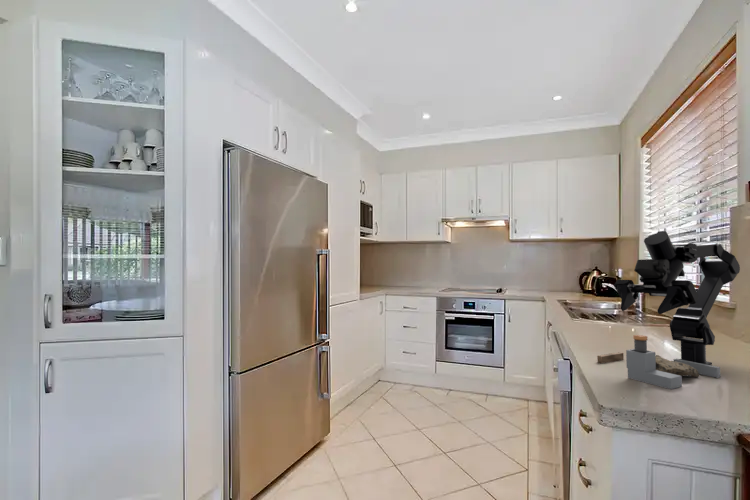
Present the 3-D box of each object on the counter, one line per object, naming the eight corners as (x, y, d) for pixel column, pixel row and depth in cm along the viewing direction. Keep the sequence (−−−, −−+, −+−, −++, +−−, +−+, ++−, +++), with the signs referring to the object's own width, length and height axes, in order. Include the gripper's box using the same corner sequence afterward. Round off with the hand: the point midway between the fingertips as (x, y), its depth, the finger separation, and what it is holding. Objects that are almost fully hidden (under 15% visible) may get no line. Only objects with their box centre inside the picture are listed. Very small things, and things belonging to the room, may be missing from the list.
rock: (709, 382, 98) (709, 364, 98) (661, 382, 98) (660, 364, 98) (677, 369, 109) (677, 353, 109) (634, 369, 109) (633, 353, 110)
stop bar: (619, 358, 121) (618, 352, 121) (623, 359, 119) (623, 353, 119) (597, 362, 116) (597, 355, 116) (602, 363, 115) (601, 356, 115)
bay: (675, 367, 111) (675, 342, 111) (720, 377, 101) (719, 349, 102) (626, 377, 101) (626, 350, 101) (671, 389, 92) (670, 359, 92)
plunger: (638, 357, 102) (637, 334, 102) (650, 359, 100) (650, 336, 100) (631, 358, 101) (630, 335, 101) (643, 360, 98) (642, 337, 98)
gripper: (618, 252, 116) (592, 286, 110) (692, 248, 99) (666, 288, 93) (634, 282, 118) (609, 316, 112) (709, 283, 101) (684, 324, 95)
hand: (639, 311), depth 103 cm, fingers open, 9 cm apart
